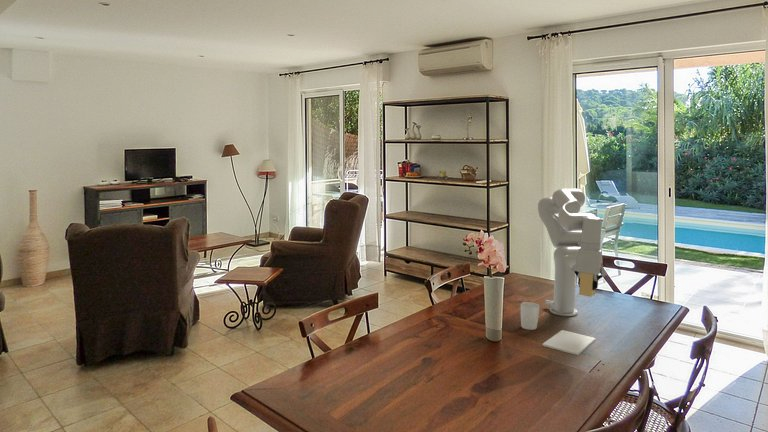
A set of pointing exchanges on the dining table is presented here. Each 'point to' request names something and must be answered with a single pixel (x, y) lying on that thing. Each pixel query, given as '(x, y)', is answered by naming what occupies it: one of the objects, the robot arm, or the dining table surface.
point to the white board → (569, 342)
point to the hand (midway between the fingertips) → (587, 287)
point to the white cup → (529, 315)
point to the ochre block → (586, 284)
